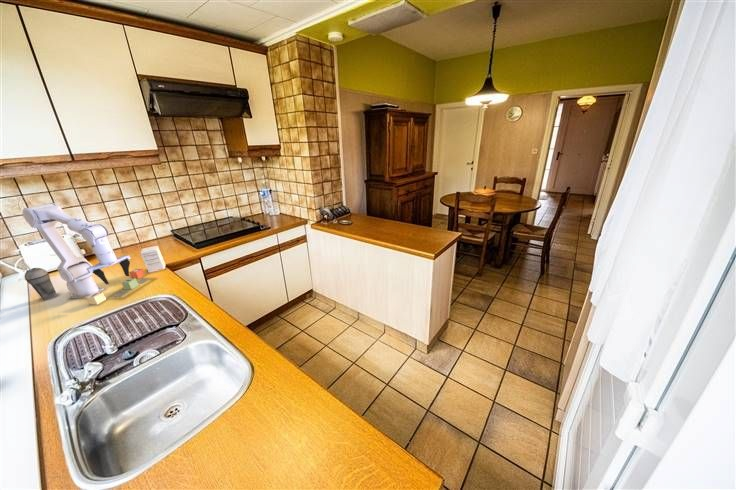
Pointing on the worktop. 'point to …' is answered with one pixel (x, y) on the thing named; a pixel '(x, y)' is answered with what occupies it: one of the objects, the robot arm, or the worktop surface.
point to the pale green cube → (130, 283)
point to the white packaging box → (153, 258)
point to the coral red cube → (137, 273)
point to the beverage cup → (40, 282)
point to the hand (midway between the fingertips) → (117, 279)
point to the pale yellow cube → (96, 298)
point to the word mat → (132, 289)
